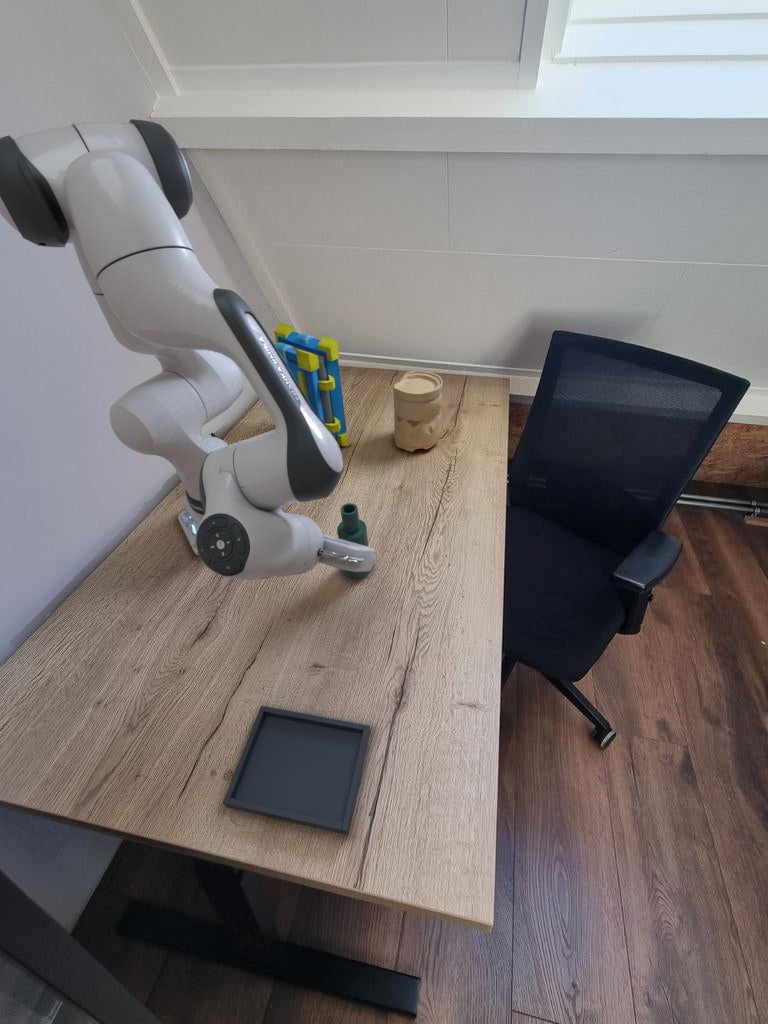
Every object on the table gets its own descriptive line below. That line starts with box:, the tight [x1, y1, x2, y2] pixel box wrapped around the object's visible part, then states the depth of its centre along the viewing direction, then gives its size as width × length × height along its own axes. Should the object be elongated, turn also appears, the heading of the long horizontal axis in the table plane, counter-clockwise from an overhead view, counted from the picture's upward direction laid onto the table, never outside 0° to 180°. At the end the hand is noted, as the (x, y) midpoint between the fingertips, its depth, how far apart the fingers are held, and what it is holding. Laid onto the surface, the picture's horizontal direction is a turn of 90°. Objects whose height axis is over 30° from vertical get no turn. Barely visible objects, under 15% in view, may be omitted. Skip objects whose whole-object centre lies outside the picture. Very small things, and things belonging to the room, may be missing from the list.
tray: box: [222, 705, 371, 836], centre depth 66 cm, size 18×14×2 cm
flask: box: [336, 502, 371, 581], centre depth 88 cm, size 6×6×17 cm
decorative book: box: [271, 322, 350, 447], centre depth 119 cm, size 14×23×30 cm, turn 50°
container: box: [392, 370, 444, 453], centre depth 121 cm, size 13×13×18 cm
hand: (331, 544), depth 79 cm, fingers open, 8 cm apart
